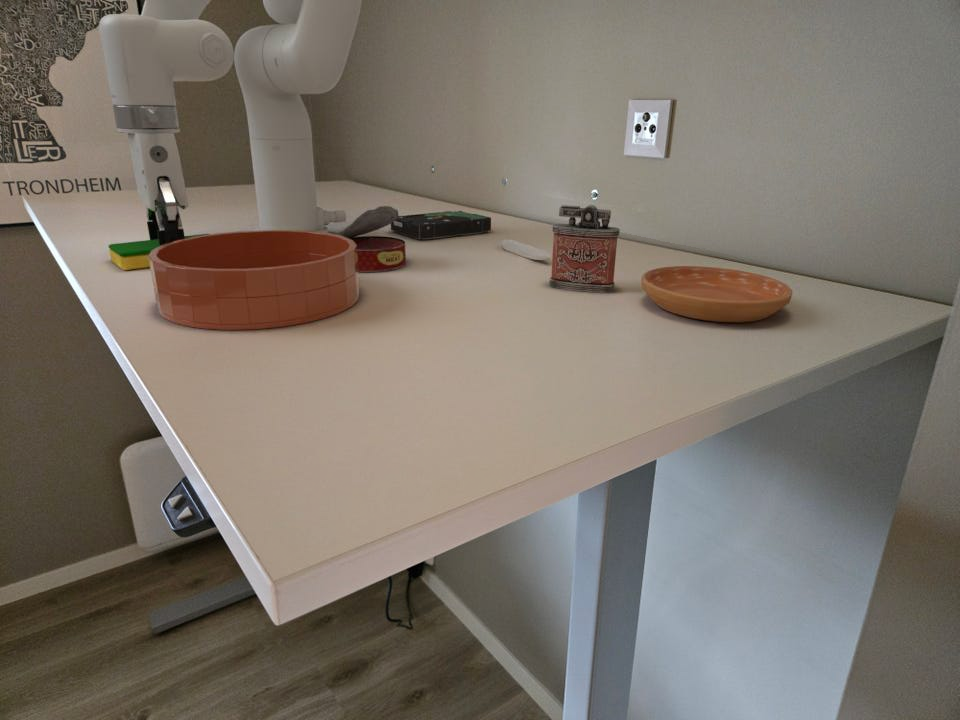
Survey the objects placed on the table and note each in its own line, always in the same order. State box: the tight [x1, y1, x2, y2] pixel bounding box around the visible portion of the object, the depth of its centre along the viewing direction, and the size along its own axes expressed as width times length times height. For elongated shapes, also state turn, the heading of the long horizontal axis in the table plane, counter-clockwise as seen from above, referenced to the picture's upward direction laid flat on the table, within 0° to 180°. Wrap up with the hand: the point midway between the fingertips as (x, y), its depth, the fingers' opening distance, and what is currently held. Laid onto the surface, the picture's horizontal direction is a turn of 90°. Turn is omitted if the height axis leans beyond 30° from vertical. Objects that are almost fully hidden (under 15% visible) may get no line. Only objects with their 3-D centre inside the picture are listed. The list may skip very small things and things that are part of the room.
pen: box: [500, 238, 552, 261], centre depth 97 cm, size 2×14×2 cm, turn 26°
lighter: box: [549, 204, 621, 293], centre depth 79 cm, size 8×3×10 cm, turn 71°
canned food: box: [337, 205, 407, 273], centre depth 90 cm, size 11×10×10 cm
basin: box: [148, 230, 360, 331], centre depth 73 cm, size 22×22×6 cm
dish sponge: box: [108, 233, 211, 271], centre depth 92 cm, size 7×14×2 cm, turn 130°
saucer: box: [640, 265, 793, 323], centre depth 73 cm, size 16×16×3 cm
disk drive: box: [390, 210, 492, 240], centre depth 114 cm, size 10×3×15 cm
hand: (169, 252), depth 92 cm, fingers closed on dish sponge, 7 cm apart
